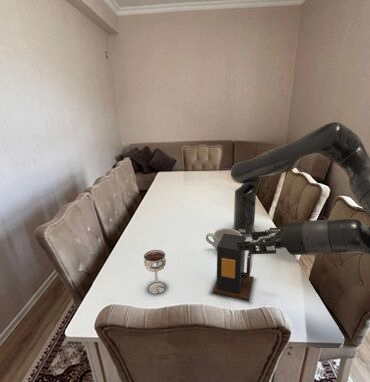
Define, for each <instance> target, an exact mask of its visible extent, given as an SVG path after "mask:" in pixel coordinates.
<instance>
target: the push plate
mask: <svg viewBox="0 0 370 382" xmlns="http://www.w3.org/2000/svg"><path fill="white" fill-rule="evenodd" d="M253 259H254V254H251V251H250V250H249V251H248V252H247V257H246V270H245V271H246V272H245V273H246V277H249V278H250V276H251V273H252V268H253V261H254V260H253Z"/></svg>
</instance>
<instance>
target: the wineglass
mask: <svg viewBox="0 0 370 382" xmlns="http://www.w3.org/2000/svg"><path fill="white" fill-rule="evenodd" d="M143 259H144V260H143V264H144V268H145V269H146V270H147V271H149V272H152V273H154V279H155V283H153V284H151V285H150V286H149V288H148V290H149V292H150V293H151V294H160V293H163V292H164V290H165V288H166V287H165V285H164V284H163V283H159V282H158V272H161V271H162V270H163V269H164V268H165V267H166V263H167V259H166V252H165V251H163V250H161V249H152V250H148V251H147V252H145V253H144V255H143Z"/></svg>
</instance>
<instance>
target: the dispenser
mask: <svg viewBox="0 0 370 382" xmlns="http://www.w3.org/2000/svg"><path fill="white" fill-rule="evenodd" d="M239 241H247V236H239V235H232V234H225V233H224V234H223V236H222V238H221V240H220V242H219V244H218V246H217V251H216V281H215V283H214V286H213V288H212V294H214V295H217V296H222V297H226V298H231V299H235V300H240V301H244V302H250V299H251V294H252V288H253V284H254V276H252V275H250V278H249V277H246V272H245V264H246V263H245V261H246V251H239V250H238V246H237V243H238V242H239Z"/></svg>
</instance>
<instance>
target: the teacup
mask: <svg viewBox="0 0 370 382" xmlns="http://www.w3.org/2000/svg"><path fill="white" fill-rule="evenodd" d="M224 233H225V234H232V235H239V236H242V235H241V233H240V232H238V231H237V230H234V228H229V227H224V228H219V229H217V230H215V232H214V233H212V232H207V234H206V235H205V241H206V242H207V243H208V244H210V245H211V246H212V247H213V248H214V249H215V251H216V252H217V246H218V244H219V242H220V240H221V238H222V236H223V234H224ZM209 237H211V238H212V239H213V241H211V240H210V238H209Z"/></svg>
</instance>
